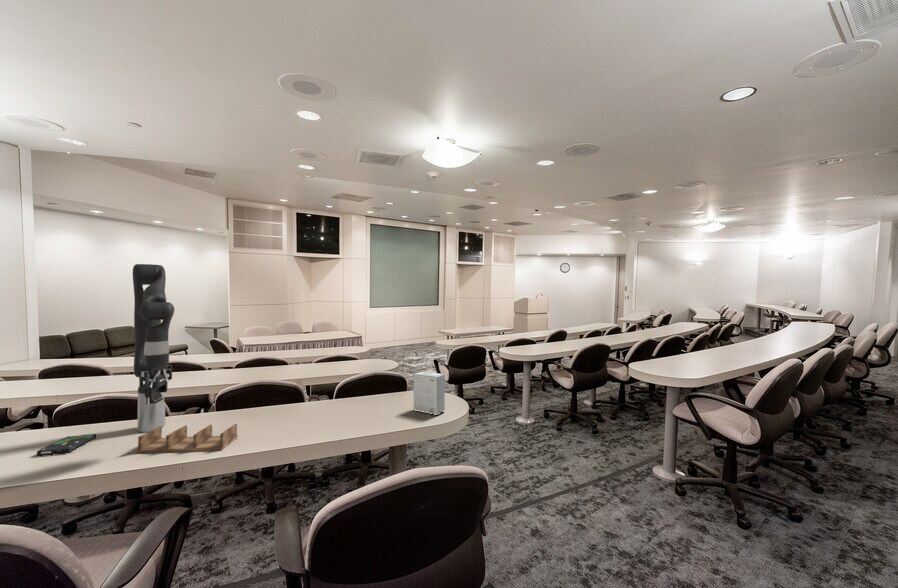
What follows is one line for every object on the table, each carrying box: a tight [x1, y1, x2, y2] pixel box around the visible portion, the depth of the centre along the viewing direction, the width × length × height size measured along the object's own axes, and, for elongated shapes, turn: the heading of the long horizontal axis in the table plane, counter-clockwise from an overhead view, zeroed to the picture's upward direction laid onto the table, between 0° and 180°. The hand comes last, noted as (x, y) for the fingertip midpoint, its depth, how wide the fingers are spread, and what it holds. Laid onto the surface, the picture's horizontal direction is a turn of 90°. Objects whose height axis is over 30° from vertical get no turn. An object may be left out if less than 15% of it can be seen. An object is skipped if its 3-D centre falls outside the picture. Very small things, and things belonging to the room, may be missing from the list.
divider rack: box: [136, 423, 238, 454], centre depth 142 cm, size 12×31×6 cm, turn 95°
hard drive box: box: [413, 371, 446, 415], centre depth 184 cm, size 16×8×20 cm, turn 58°
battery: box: [146, 373, 166, 404], centre depth 137 cm, size 7×4×11 cm, turn 14°
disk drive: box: [36, 433, 97, 457], centre depth 140 cm, size 10×3×15 cm
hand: (156, 394), depth 137 cm, fingers closed on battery, 7 cm apart
